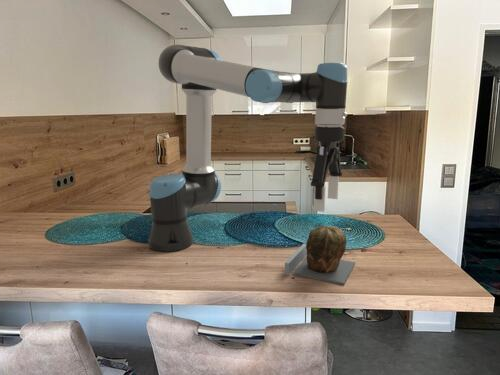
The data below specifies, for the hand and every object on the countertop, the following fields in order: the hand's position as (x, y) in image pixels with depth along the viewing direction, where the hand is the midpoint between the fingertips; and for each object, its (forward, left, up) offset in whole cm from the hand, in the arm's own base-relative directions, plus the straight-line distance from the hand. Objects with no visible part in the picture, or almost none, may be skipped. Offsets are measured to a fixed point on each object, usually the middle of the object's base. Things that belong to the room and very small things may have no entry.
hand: (326, 204), depth 98 cm
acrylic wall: (-8, 0, -19) cm, 21 cm away
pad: (0, 0, -19) cm, 19 cm away
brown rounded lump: (0, 0, -19) cm, 19 cm away
